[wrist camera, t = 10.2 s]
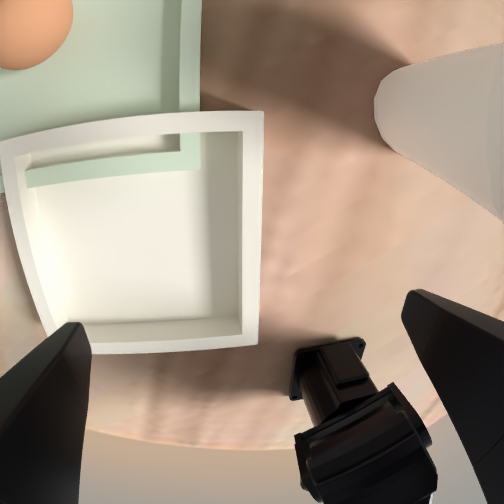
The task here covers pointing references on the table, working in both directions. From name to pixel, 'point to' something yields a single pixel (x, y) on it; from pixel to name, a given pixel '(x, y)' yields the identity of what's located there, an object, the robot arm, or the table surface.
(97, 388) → the table surface
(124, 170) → the tray
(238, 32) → the table surface
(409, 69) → the foam cup
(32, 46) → the ball
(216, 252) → the white square open box
